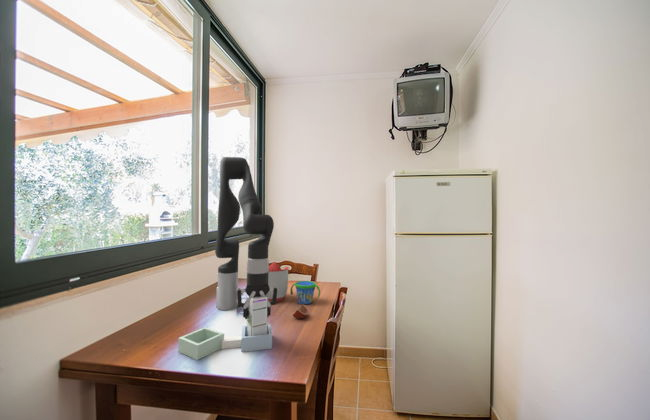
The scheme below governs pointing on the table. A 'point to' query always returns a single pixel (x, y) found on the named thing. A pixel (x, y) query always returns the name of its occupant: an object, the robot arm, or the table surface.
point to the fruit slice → (301, 312)
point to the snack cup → (305, 291)
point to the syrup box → (257, 316)
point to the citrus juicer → (278, 281)
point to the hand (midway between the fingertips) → (257, 317)
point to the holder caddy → (221, 342)
